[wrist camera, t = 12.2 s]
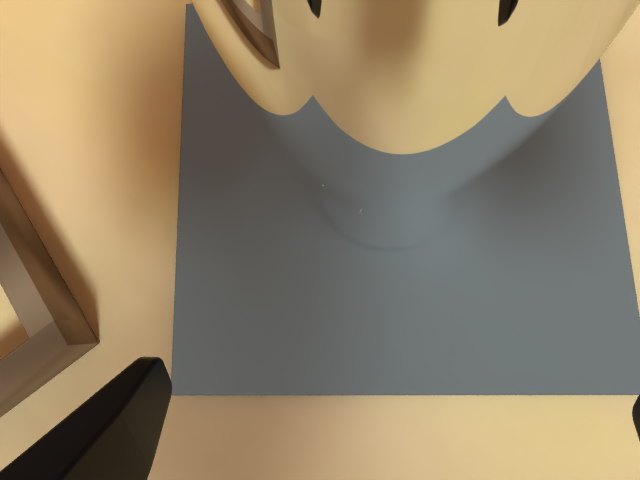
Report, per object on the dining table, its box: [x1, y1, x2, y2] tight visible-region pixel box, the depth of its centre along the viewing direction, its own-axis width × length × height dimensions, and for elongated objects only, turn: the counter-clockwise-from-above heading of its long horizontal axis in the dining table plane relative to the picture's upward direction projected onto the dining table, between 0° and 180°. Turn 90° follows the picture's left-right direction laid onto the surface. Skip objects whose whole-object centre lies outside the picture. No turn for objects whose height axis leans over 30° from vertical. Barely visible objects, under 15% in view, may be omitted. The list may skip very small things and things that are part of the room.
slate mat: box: [171, 4, 640, 395], centre depth 19 cm, size 18×18×1 cm
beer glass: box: [191, 0, 640, 249], centre depth 11 cm, size 7×7×15 cm
